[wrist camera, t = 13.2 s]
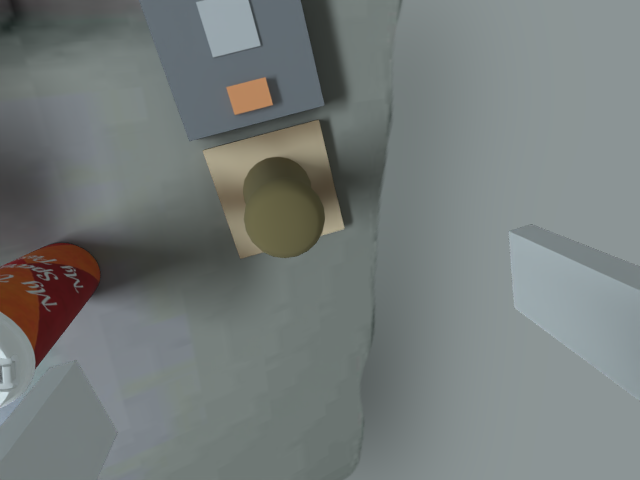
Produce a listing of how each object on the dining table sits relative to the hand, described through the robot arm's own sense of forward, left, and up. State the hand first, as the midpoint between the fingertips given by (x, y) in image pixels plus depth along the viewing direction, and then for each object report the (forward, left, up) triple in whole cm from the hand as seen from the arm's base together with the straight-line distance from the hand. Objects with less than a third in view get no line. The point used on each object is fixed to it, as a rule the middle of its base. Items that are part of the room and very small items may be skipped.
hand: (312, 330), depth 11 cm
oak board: (0, 0, -24) cm, 24 cm away
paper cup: (+2, -20, -24) cm, 31 cm away
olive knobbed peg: (0, 0, -23) cm, 23 cm away
